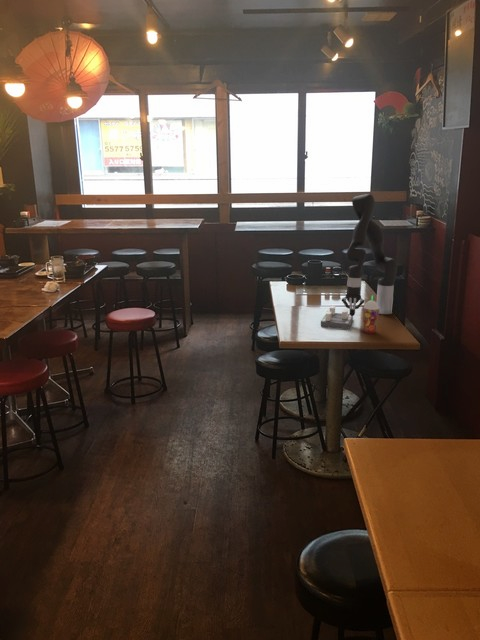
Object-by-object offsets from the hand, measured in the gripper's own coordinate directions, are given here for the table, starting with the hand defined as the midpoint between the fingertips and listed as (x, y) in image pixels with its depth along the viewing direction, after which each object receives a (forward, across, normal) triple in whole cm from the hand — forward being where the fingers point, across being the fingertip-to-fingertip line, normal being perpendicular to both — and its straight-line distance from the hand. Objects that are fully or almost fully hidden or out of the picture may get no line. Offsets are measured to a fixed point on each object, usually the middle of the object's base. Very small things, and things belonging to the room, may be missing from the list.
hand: (352, 315), depth 310 cm
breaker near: (+2, +12, +6) cm, 14 cm away
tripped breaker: (+2, +4, 0) cm, 4 cm away
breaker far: (+2, +12, -7) cm, 14 cm away
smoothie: (+5, -11, +11) cm, 16 cm away
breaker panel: (+5, +8, 0) cm, 9 cm away
